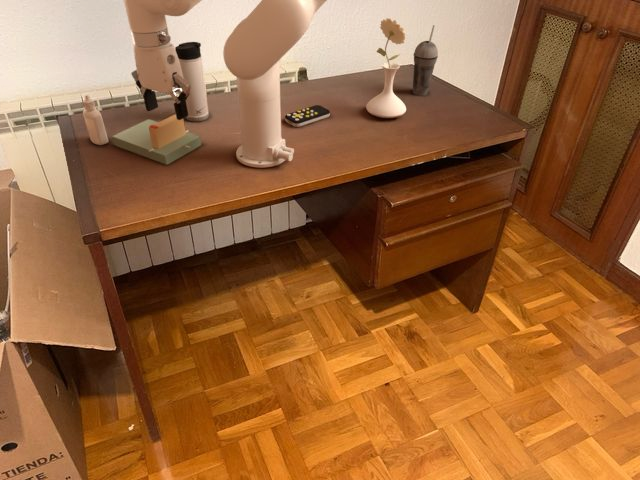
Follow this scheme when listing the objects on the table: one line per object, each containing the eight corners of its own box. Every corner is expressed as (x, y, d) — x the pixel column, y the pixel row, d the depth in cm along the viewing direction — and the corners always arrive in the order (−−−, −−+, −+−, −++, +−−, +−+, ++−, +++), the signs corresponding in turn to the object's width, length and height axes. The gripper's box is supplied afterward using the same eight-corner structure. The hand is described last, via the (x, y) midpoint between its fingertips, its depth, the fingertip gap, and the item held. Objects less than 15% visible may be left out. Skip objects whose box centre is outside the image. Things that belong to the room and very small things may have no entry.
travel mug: (205, 123, 133) (194, 47, 121) (182, 120, 134) (169, 45, 122) (213, 113, 138) (204, 40, 125) (191, 111, 139) (180, 38, 126)
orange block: (179, 132, 123) (175, 112, 119) (185, 134, 122) (182, 114, 118) (152, 146, 117) (148, 126, 113) (159, 149, 116) (154, 128, 112)
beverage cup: (404, 89, 155) (413, 22, 143) (425, 87, 157) (435, 21, 145) (414, 98, 150) (424, 29, 137) (435, 96, 152) (447, 28, 139)
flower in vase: (412, 118, 138) (426, 25, 123) (376, 124, 135) (386, 29, 119) (390, 101, 148) (401, 12, 132) (356, 106, 144) (363, 15, 129)
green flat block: (209, 146, 123) (208, 136, 121) (171, 168, 114) (169, 158, 112) (151, 126, 130) (150, 117, 129) (112, 146, 122) (109, 136, 120)
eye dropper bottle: (90, 147, 121) (76, 100, 113) (90, 137, 125) (77, 91, 118) (109, 144, 122) (96, 98, 115) (108, 135, 126) (96, 90, 119)
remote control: (332, 116, 138) (332, 110, 137) (296, 128, 131) (296, 121, 130) (318, 109, 142) (318, 103, 140) (282, 120, 135) (282, 114, 134)
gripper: (193, 38, 103) (206, 115, 114) (136, 28, 110) (153, 100, 121) (167, 48, 98) (183, 127, 109) (109, 36, 105) (129, 111, 116)
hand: (167, 113), depth 115 cm, fingers open, 9 cm apart
